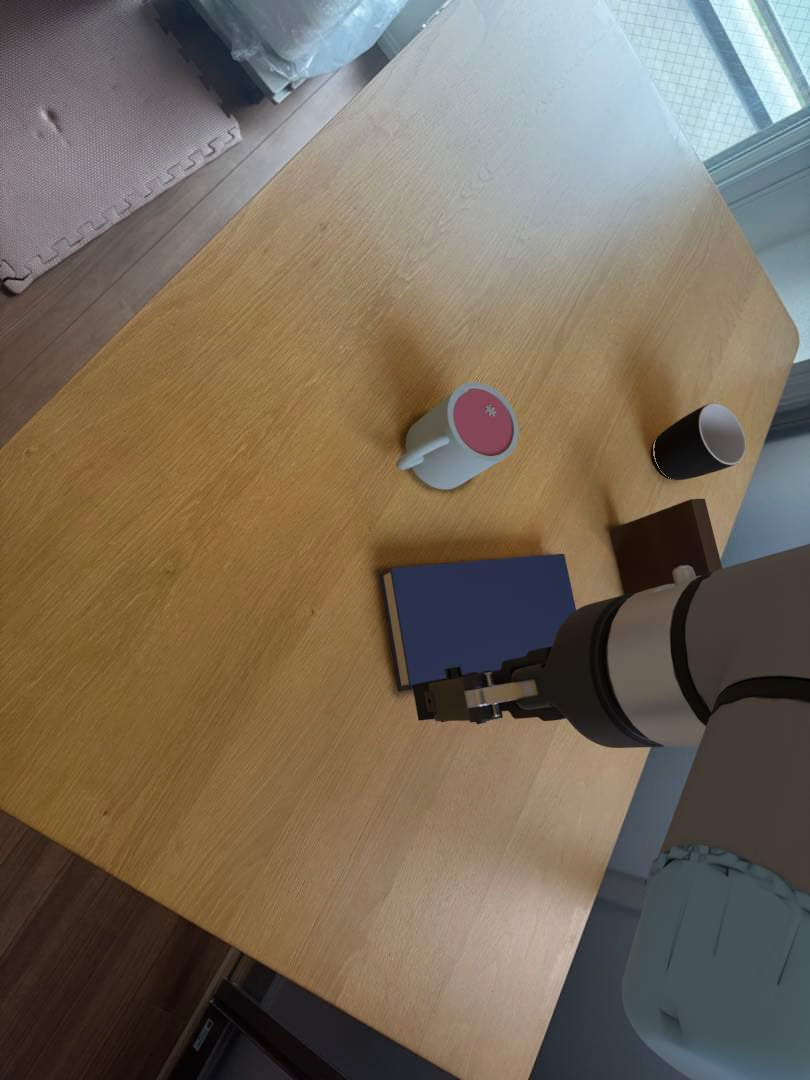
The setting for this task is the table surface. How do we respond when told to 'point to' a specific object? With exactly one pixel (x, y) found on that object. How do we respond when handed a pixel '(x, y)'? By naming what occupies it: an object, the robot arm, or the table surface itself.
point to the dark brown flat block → (665, 546)
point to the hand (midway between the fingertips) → (423, 700)
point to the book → (473, 613)
